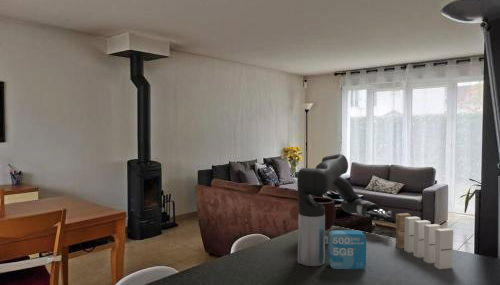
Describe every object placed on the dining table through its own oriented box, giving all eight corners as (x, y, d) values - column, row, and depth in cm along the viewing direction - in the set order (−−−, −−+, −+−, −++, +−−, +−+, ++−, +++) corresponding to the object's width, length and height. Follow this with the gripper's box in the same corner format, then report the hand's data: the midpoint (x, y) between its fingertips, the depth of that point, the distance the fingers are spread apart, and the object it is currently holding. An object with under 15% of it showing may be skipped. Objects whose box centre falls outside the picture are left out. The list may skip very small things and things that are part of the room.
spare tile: (395, 246, 149) (396, 213, 149) (406, 245, 150) (407, 213, 150) (399, 248, 147) (399, 215, 146) (410, 247, 148) (411, 214, 147)
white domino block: (423, 260, 133) (424, 224, 133) (435, 259, 134) (436, 223, 134) (428, 263, 131) (429, 226, 130) (440, 262, 132) (441, 225, 131)
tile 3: (413, 255, 139) (414, 220, 138) (425, 254, 140) (426, 220, 139) (417, 257, 136) (418, 222, 136) (429, 256, 137) (430, 221, 137)
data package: (330, 269, 126) (330, 234, 125) (327, 264, 131) (328, 230, 130) (366, 269, 126) (366, 234, 125) (362, 264, 130) (362, 230, 130)
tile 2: (404, 250, 144) (404, 217, 143) (415, 249, 145) (416, 216, 144) (408, 252, 142) (409, 218, 141) (419, 251, 143) (420, 218, 142)
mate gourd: (342, 240, 156) (342, 193, 155) (321, 247, 147) (321, 197, 146) (313, 232, 168) (313, 188, 167) (292, 238, 159) (292, 192, 158)
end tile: (434, 266, 128) (435, 229, 127) (447, 265, 129) (447, 228, 128) (439, 269, 126) (440, 231, 125) (452, 267, 127) (453, 230, 126)
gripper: (355, 202, 172) (376, 211, 155) (381, 201, 175) (404, 209, 158) (355, 218, 173) (375, 229, 156) (381, 217, 176) (404, 227, 159)
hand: (390, 219), depth 157 cm, fingers closed
